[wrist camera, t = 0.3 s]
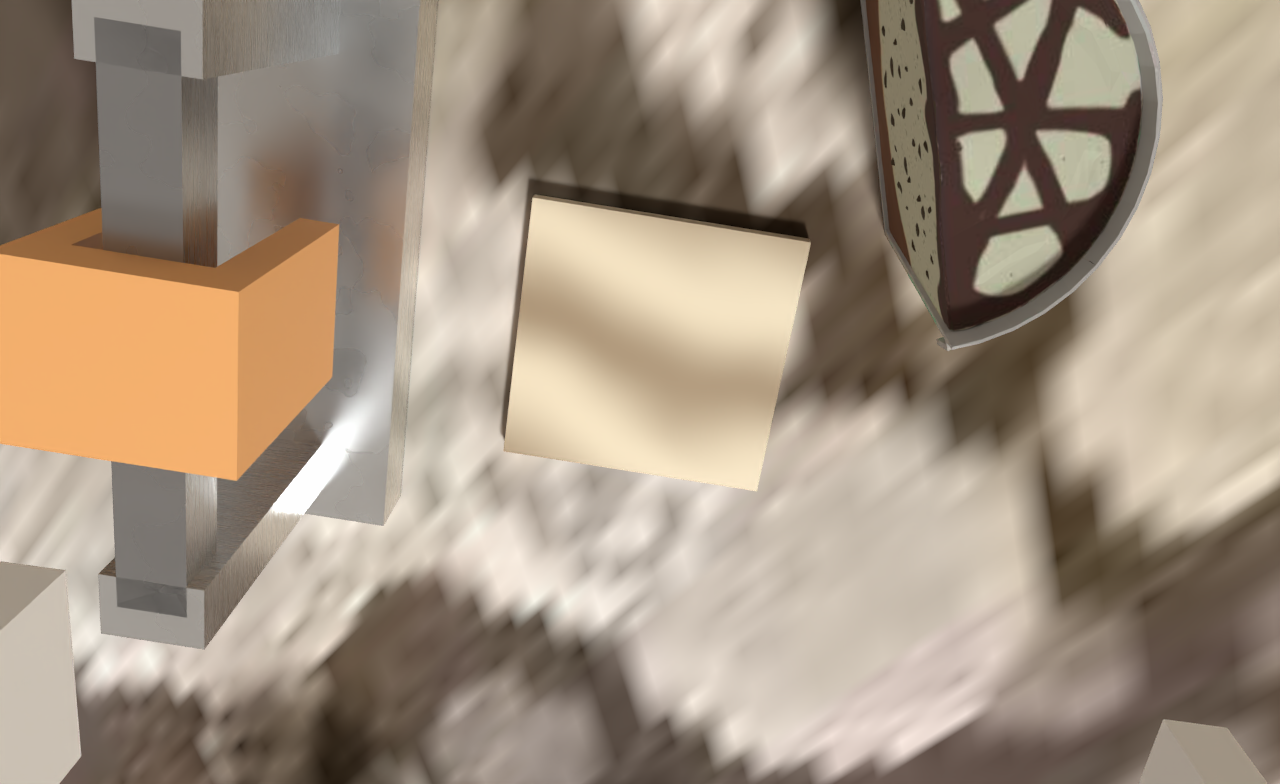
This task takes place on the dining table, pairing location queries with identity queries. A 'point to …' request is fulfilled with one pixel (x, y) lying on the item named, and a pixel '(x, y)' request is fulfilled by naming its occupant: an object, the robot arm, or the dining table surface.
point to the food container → (1008, 147)
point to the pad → (651, 341)
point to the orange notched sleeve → (163, 346)
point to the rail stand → (243, 216)
